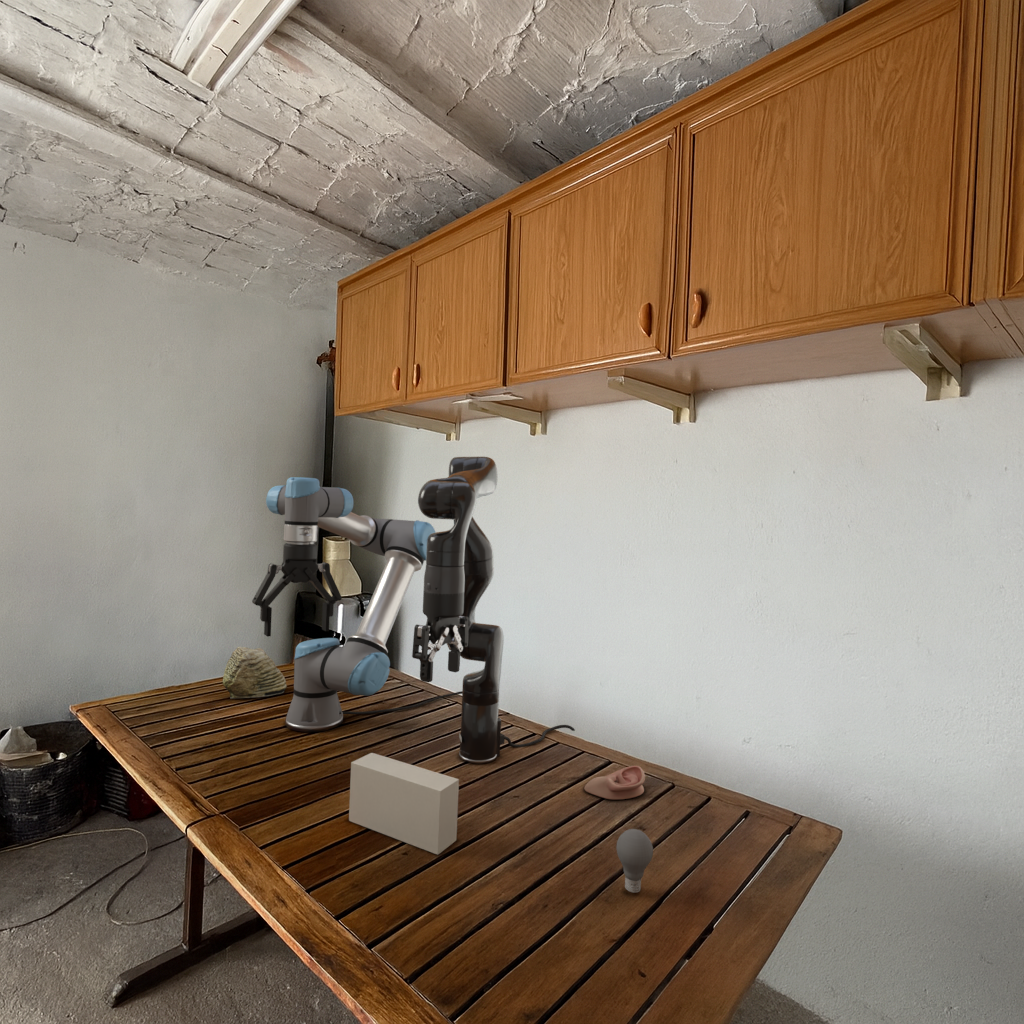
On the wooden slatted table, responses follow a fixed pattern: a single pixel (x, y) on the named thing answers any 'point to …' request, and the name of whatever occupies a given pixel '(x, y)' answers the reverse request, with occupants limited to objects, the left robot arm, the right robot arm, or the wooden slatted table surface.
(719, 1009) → the wooden slatted table surface
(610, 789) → the anatomical model
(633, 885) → the light bulb
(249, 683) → the fossil
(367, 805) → the box
